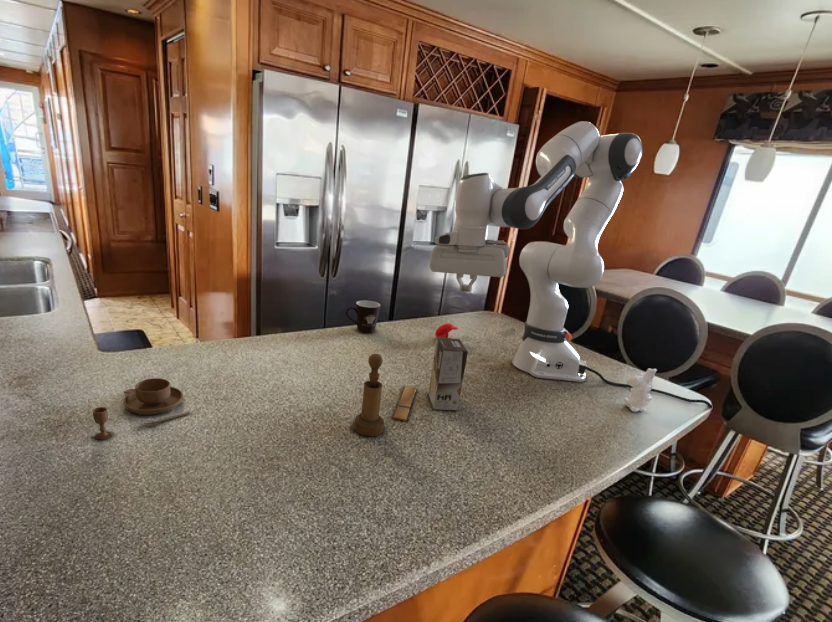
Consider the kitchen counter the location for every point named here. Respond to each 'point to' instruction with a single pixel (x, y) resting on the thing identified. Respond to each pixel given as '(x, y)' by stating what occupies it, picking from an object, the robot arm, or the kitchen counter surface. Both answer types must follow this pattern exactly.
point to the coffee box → (447, 373)
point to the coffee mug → (366, 316)
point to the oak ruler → (405, 403)
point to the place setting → (144, 402)
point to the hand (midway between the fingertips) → (465, 291)
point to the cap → (444, 330)
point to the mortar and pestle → (371, 402)
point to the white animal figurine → (640, 390)
